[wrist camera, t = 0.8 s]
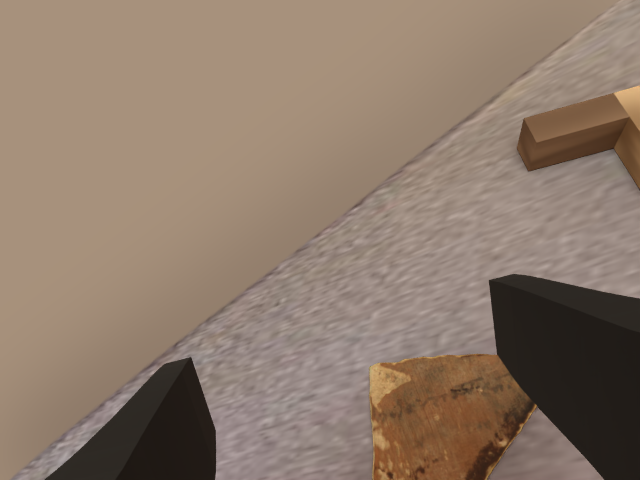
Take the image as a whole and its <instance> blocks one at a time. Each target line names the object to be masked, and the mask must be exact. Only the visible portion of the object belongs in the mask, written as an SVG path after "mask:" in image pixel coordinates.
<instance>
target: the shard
mask: <svg viewBox="0 0 640 480" xmlns="http://www.w3.org/2000/svg"><path fill="white" fill-rule="evenodd" d="M369 379H370V393H369V398H370V412H371V422H372V433H373V447H374V453H373V469H372V480H487V478H488V476H489V475H490V474H491V472H492V470H493V469H494V467H495V465H496V464H497V463H498V461H499V460H500V458H501V457H502V455H503V453H504V452H505V450H506V449H507V448H508V446H509V445H510V443H511V442H512V441H513V440H514V439H515V437H516V436H517V434H518V433H519V432H521V430H522V427H523V425H524V424H525V423H526V422H527V420H528V419H529V417H530V416H531V414H532V413H533V411H534V410H535V408H536V407H537V405H536V404H535V403H534V402H533V401H532V400H531V399H530V398H529V397H528V396H527V394H526V393H525V392H524V391H523V390H522V389H521V388H520V387H519V385H518V384H517V382H516V381H515V380H514V378H513V377H512V375H511V374H510V373H509V371H508V370H507V368H506V367H505V365H504V364H503V362H502V361H501V359H500V358H499V356H498V355H488V354H470V355H459V356H456V355H443V356H436V357H420V358H413V359H403V360H402V361H400V362H397V363H377V364H375V365H373V366H370V367H369Z"/></svg>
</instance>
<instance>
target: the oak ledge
mask: <svg viewBox="0 0 640 480" xmlns="http://www.w3.org/2000/svg"><path fill="white" fill-rule="evenodd" d="M612 148H614V149H615V151H616V152H617V154H618V155H619V157H620V159H621V160H622V162H623V163H624V165H625V167H626V168H627V170H628V171H629V173H630V175H631V176H632V178H633V179H634V181H635V182H636V184H637V186H638V187H639V189H640V86H637V87H633V88H630V89H626V90H623V91H619V92H616V93H612V94H608V95H605V96H601V97H598V98H594V99H591V100H587V101H584V102H580V103H577V104H573V105H570V106H566V107H562V108H559V109H555V110H552V111H548V112H545V113H541V114H538V115H534V116H531V117H527V118H524V120H523V124H522V128H521V133H520V137H519V142H518V146H517V149H518V151H519V153H520V155H521V157H522V159H523V161H524V163H525V165H526V167H527V169H528V171H531V170H535V169H539V168H542V167H546V166H550V165H554V164H557V163H561V162H565V161H568V160H572V159H576V158H579V157H583V156H587V155H590V154H594V153H598V152H601V151H605V150H609V149H612Z"/></svg>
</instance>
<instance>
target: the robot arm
mask: <svg viewBox="0 0 640 480" xmlns="http://www.w3.org/2000/svg"><path fill="white" fill-rule="evenodd" d="M489 286H490V295H491V304H492V313H493V321H494V330H495V339H496V348H497V355H498V356H499V358H500V359H501V361H502V362H503V364H504V365H505V367H506V368H507V370H508V371H509V373H510V374H511V375H512V377H513V378H514V380H515V381H516V382H517V384H518V385H519V387H520V388H521V389H522V390H523V391H524V392H525V393H526V394H527V396H528V397H529V398H530V399H531V400H532V401H533V402H534V403H535V404H536V405H537V406H538V408H539V409H540V410H541V411H542V412H543V413H544V414H545V415H546V416H547V417H548V418H549V419H550V420H551V422H552V423H553V424H554V425H555V426H556V427H557V428H558V429H559V430H560V431H561V432H562V433H563V434H564V435H565V436H566V438H567V439H568V440H569V441H570V442H571V443H572V444H573V445H574V446H575V447H576V448H577V449H578V450H579V451H580V452H581V454H582V455H583V456H584V457H585V458H586V459H587V460H588V461H589V462H590V464H591V465H592V466H593V467H594V468H595V469H596V470H597V472H598V473H599V474H600V475H601V476H602V477H603V479H604V480H640V299H639V298H633V297H627V296H622V295H616V294H611V293H606V292H601V291H597V290H592V289H587V288H583V287H578V286H574V285H569V284H565V283H560V282H556V281H551V280H547V279H542V278H537V277H532V276H526V275H518V274H511V275H508V276H504V277H500V278H496V279H492V280H489ZM215 474H216V430H215V427H214V424H213V421H212V418H211V415H210V412H209V409H208V406H207V403H206V400H205V397H204V394H203V391H202V388H201V385H200V382H199V379H198V376H197V373H196V370H195V367H194V364H193V361H192V358H191V357H190V358H186V359H182V360H178V361H174V362H170V363H166V364H164V365H163V366H162V367H161V368H159V369H158V370H157V371H156V372H155V373H154V374H153V375H152V376H151V377H150V379H149V380H148V381H147V382H146V383H145V384H144V385H143V386H142V387H141V388H140V389H139V390H138V391H137V392H136V393H135V395H134V396H133V397H132V398H131V399H130V400H129V401H128V402H127V403H126V404H125V405H124V406H123V407H122V408H121V409H120V410H119V411H118V413H117V414H116V415H115V416H114V417H113V418H112V419H111V420H110V421H109V422H108V423H107V424H106V425H105V426H103V427H102V428H101V429H100V430H99V431H98V432H97V433H96V434H95V435H94V436H93V437H92V438H91V439H90V440H89V441H88V442H87V443H86V444H85V445H84V446H83V447H82V448H81V449H80V450H79V451H78V452H76V453H75V454H74V455H73V456H72V457H71V458H70V459H69V460H67V461H66V462H65V463H64V464H63V465H62V466H61V467H59V468H58V469H57V470H56V471H55V472H53V473H52V474H51V475H50V476H48V477H47V478H46V479H45V480H215Z"/></svg>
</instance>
